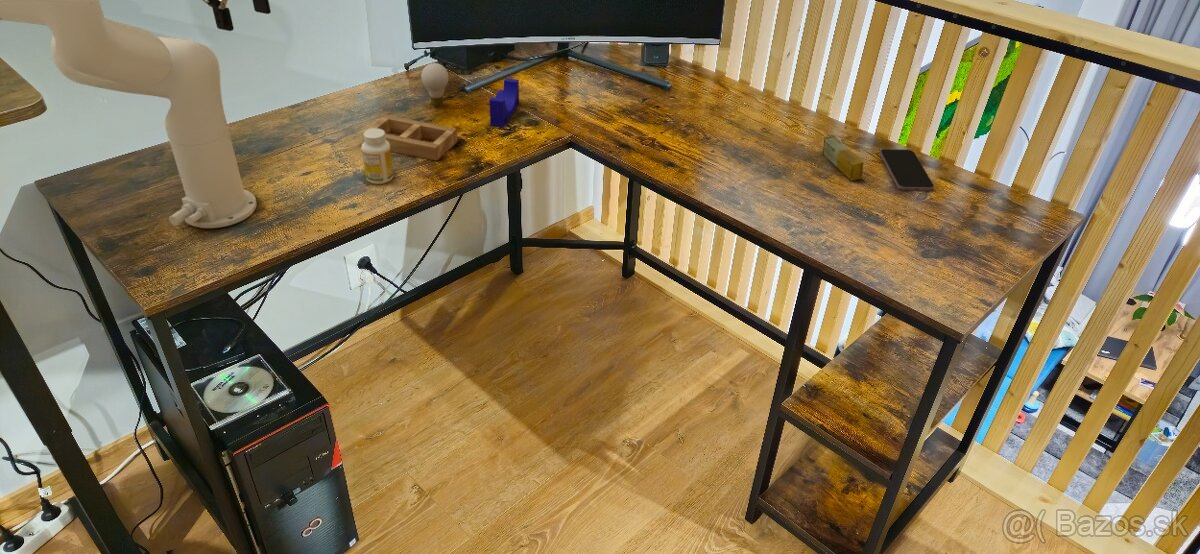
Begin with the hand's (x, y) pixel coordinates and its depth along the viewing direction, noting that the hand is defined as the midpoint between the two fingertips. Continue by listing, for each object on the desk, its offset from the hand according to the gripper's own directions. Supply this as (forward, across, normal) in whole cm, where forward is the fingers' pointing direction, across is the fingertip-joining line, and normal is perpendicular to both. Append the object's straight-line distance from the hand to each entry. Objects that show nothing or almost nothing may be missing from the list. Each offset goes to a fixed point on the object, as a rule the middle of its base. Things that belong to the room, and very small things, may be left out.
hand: (244, 20), depth 152 cm
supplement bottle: (+28, -2, +23) cm, 37 cm away
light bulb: (+28, -35, +17) cm, 48 cm away
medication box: (+28, -46, +105) cm, 118 cm away
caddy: (+28, -17, +21) cm, 39 cm away
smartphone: (+28, -49, +118) cm, 131 cm away
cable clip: (+28, -37, +32) cm, 56 cm away
